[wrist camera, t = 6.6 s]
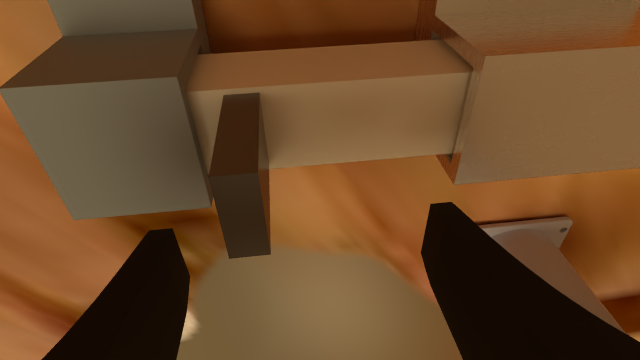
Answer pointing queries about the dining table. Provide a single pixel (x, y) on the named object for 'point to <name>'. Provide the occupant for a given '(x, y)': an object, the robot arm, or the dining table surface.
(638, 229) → the dining table surface
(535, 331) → the robot arm
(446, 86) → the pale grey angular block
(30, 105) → the slate stepped block
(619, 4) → the beige stepped block
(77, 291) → the dining table surface
